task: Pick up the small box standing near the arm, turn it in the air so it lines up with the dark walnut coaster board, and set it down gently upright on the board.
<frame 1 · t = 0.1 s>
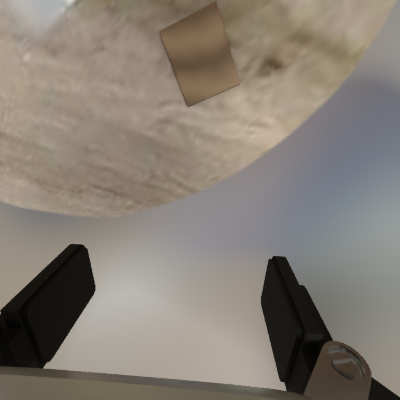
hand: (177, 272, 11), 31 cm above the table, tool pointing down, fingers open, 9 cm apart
walnut coaster board: (201, 59, 34), on the table
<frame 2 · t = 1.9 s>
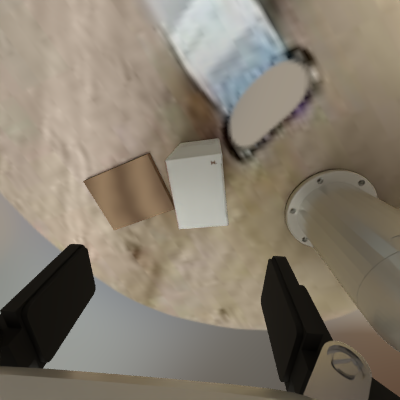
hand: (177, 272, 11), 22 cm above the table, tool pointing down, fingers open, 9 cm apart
walnut coaster board: (131, 193, 33), on the table
small box: (203, 167, 31), on the table
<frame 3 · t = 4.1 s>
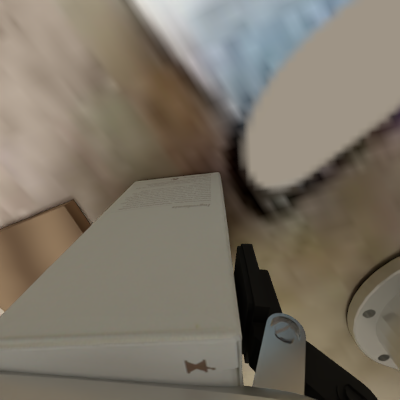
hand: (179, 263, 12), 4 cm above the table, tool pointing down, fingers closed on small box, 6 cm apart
walnut coaster board: (50, 270, 17), on the table
small box: (187, 227, 15), on the table, touching gripper
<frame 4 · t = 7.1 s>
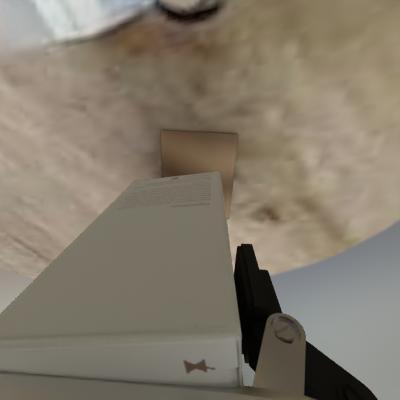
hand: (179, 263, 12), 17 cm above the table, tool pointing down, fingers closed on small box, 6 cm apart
walnut coaster board: (197, 175, 28), on the table
small box: (187, 227, 15), point 14 cm above the table, touching gripper
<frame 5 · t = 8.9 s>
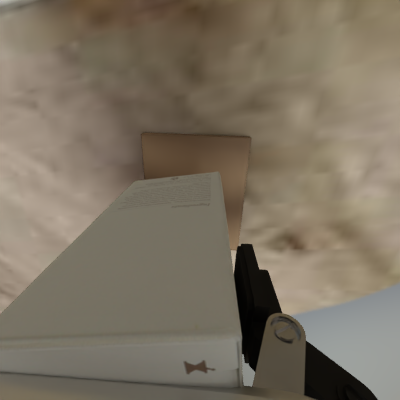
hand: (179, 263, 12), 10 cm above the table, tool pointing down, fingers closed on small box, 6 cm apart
walnut coaster board: (195, 194, 21), on the table
small box: (187, 227, 15), point 6 cm above the table, touching gripper
when the fingers open (6 cm above the table, at t = 10.5 s): small box drops 1 cm, resting on walnut coaster board.
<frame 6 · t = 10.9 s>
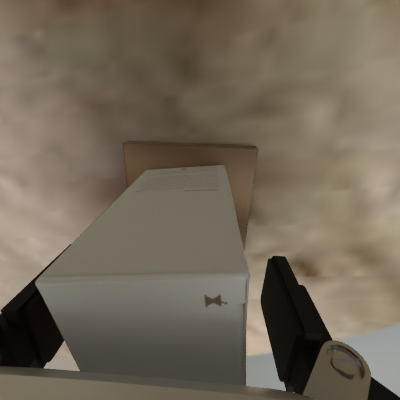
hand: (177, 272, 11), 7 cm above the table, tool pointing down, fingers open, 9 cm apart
walnut coaster board: (190, 213, 17), on the table
small box: (191, 215, 16), point 1 cm above the table, touching walnut coaster board
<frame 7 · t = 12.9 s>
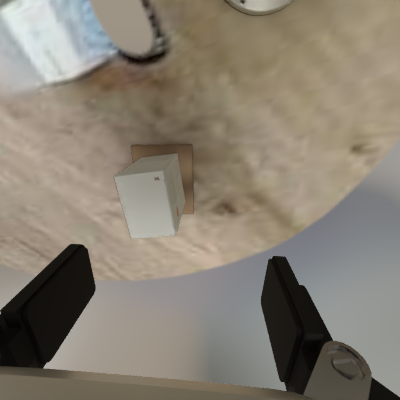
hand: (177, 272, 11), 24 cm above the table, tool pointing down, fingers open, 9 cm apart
walnut coaster board: (165, 179, 34), on the table
small box: (165, 180, 33), point 1 cm above the table, touching walnut coaster board
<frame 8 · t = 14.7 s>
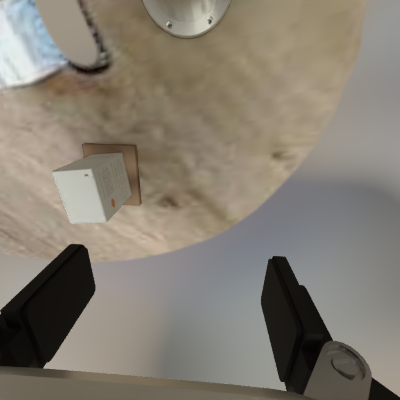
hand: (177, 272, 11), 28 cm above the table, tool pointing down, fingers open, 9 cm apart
walnut coaster board: (114, 174, 39), on the table
small box: (113, 175, 38), point 1 cm above the table, touching walnut coaster board
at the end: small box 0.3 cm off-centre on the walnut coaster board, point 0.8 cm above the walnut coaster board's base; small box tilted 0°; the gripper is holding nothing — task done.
